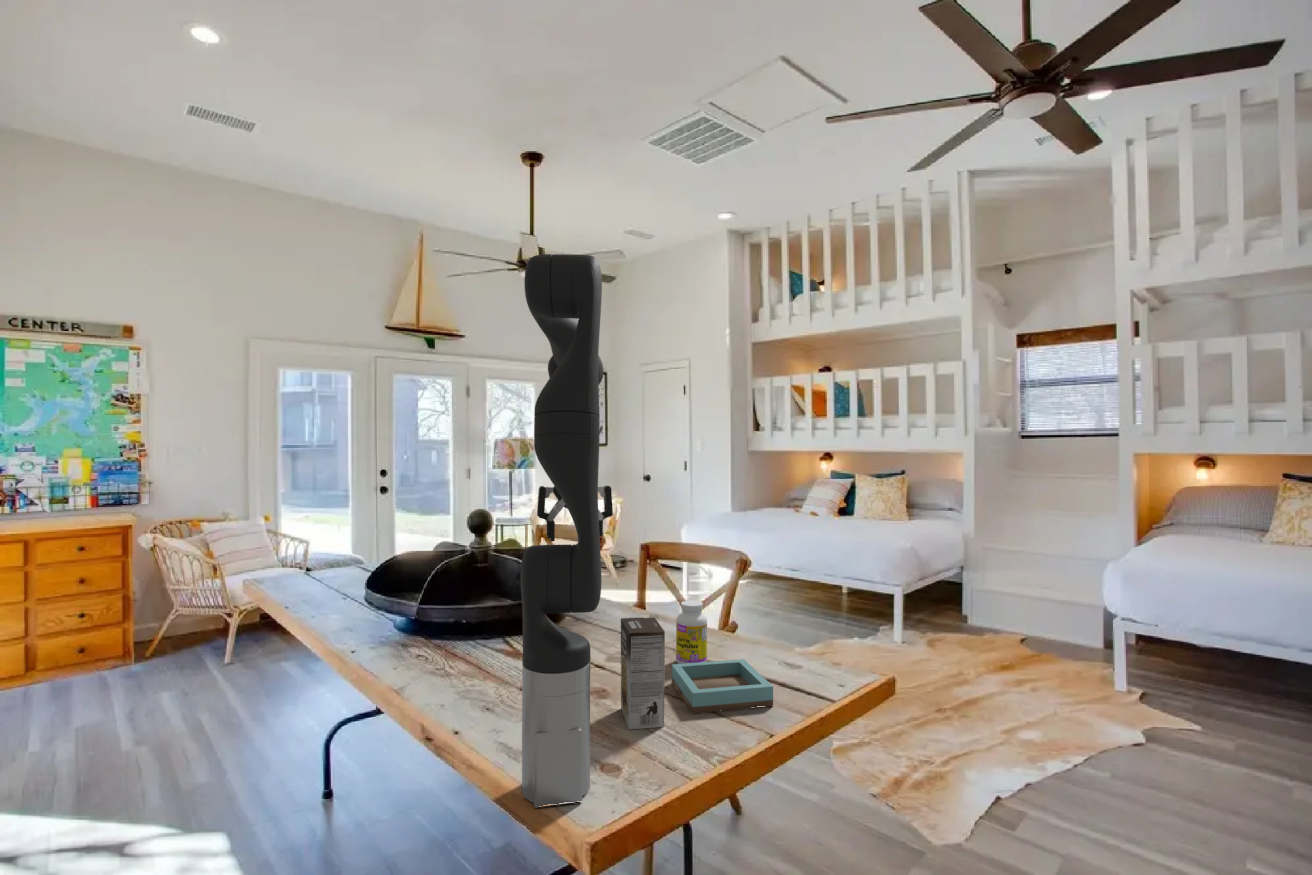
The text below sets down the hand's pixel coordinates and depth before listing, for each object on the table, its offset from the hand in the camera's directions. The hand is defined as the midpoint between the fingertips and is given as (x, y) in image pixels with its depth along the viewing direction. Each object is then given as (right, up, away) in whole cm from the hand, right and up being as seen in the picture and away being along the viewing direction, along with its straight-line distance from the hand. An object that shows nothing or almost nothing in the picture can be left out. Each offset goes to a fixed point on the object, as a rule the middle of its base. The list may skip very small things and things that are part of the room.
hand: (574, 540), depth 124 cm
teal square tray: (+28, -29, -2) cm, 40 cm away
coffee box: (+13, -29, -12) cm, 34 cm away
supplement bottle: (+23, -29, +15) cm, 40 cm away
